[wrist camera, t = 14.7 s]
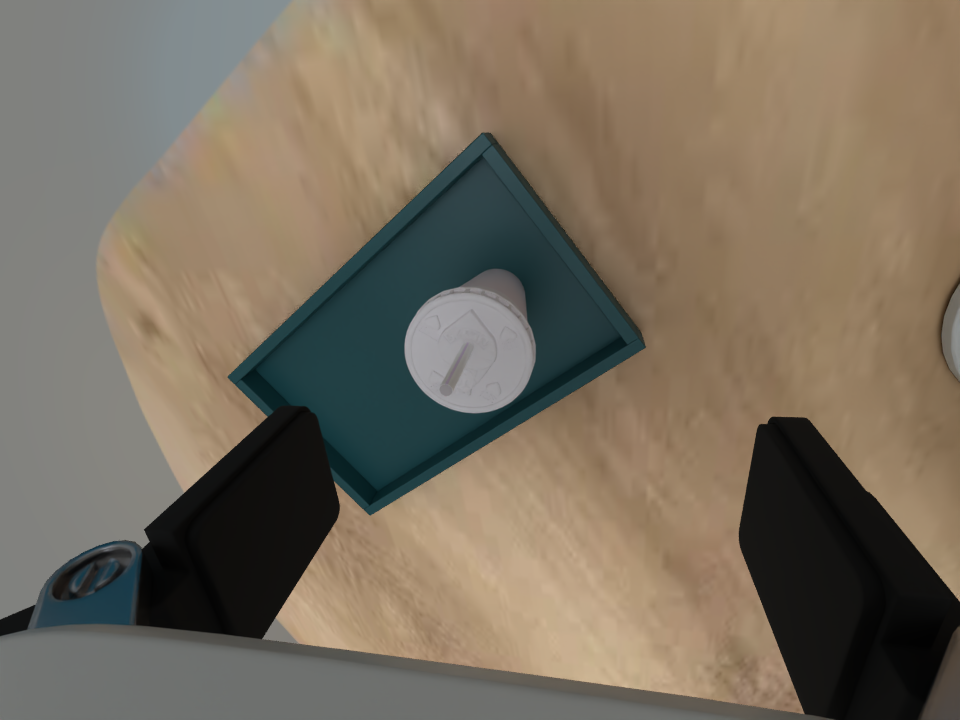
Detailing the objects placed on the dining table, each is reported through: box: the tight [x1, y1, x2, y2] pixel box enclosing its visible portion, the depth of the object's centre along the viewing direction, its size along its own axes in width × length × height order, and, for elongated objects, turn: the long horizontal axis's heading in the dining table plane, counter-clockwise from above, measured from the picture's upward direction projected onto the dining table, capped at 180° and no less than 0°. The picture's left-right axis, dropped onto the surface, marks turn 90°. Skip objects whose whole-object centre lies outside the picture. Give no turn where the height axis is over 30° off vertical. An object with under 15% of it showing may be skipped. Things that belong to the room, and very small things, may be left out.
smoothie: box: [405, 269, 536, 413], centre depth 25 cm, size 6×6×14 cm
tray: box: [228, 133, 646, 515], centre depth 34 cm, size 16×26×2 cm, turn 130°
